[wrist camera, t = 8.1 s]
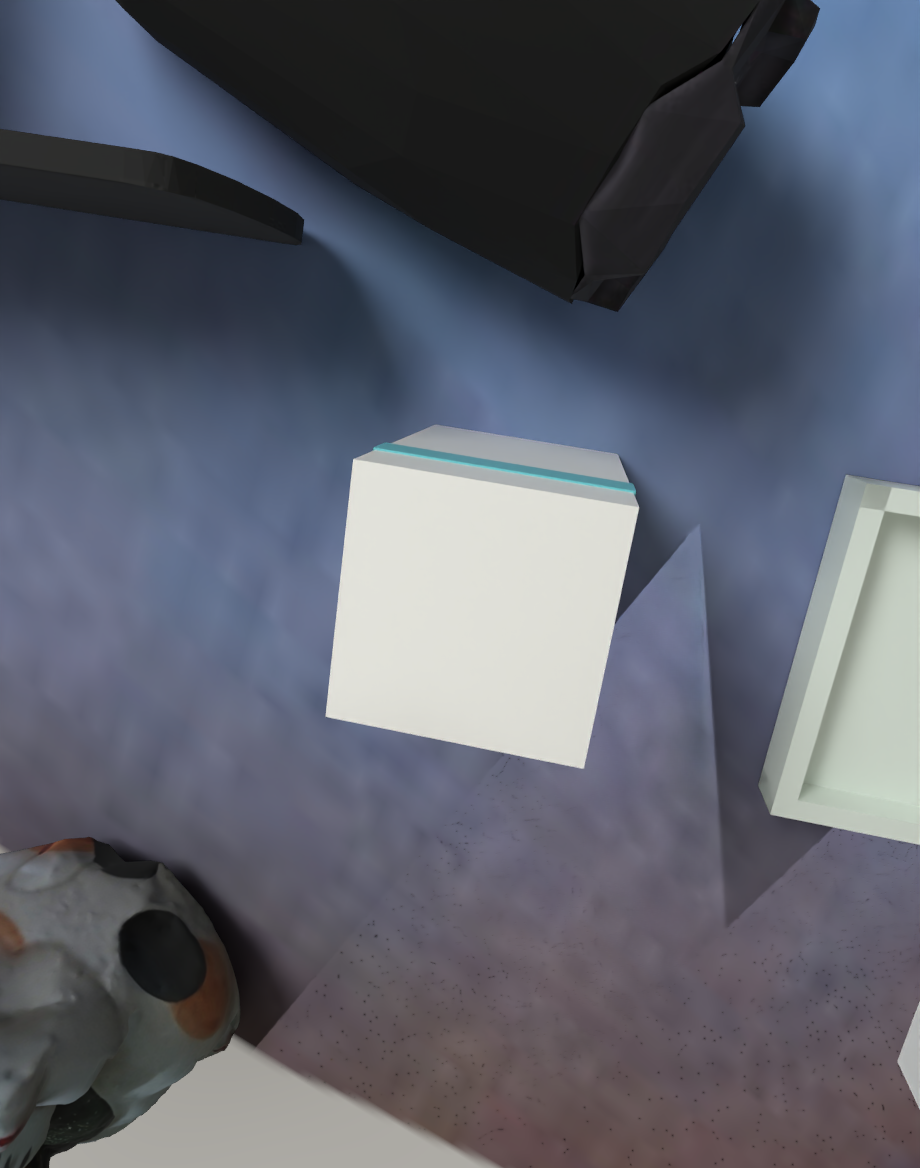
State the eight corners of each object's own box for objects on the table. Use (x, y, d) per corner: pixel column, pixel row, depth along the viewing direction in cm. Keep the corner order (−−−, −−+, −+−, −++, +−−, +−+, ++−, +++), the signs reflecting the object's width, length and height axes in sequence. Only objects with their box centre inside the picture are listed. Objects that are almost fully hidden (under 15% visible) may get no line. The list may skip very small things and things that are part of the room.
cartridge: (434, 422, 26) (351, 456, 17) (619, 452, 26) (642, 505, 16) (410, 597, 28) (323, 717, 19) (584, 629, 28) (585, 771, 18)
